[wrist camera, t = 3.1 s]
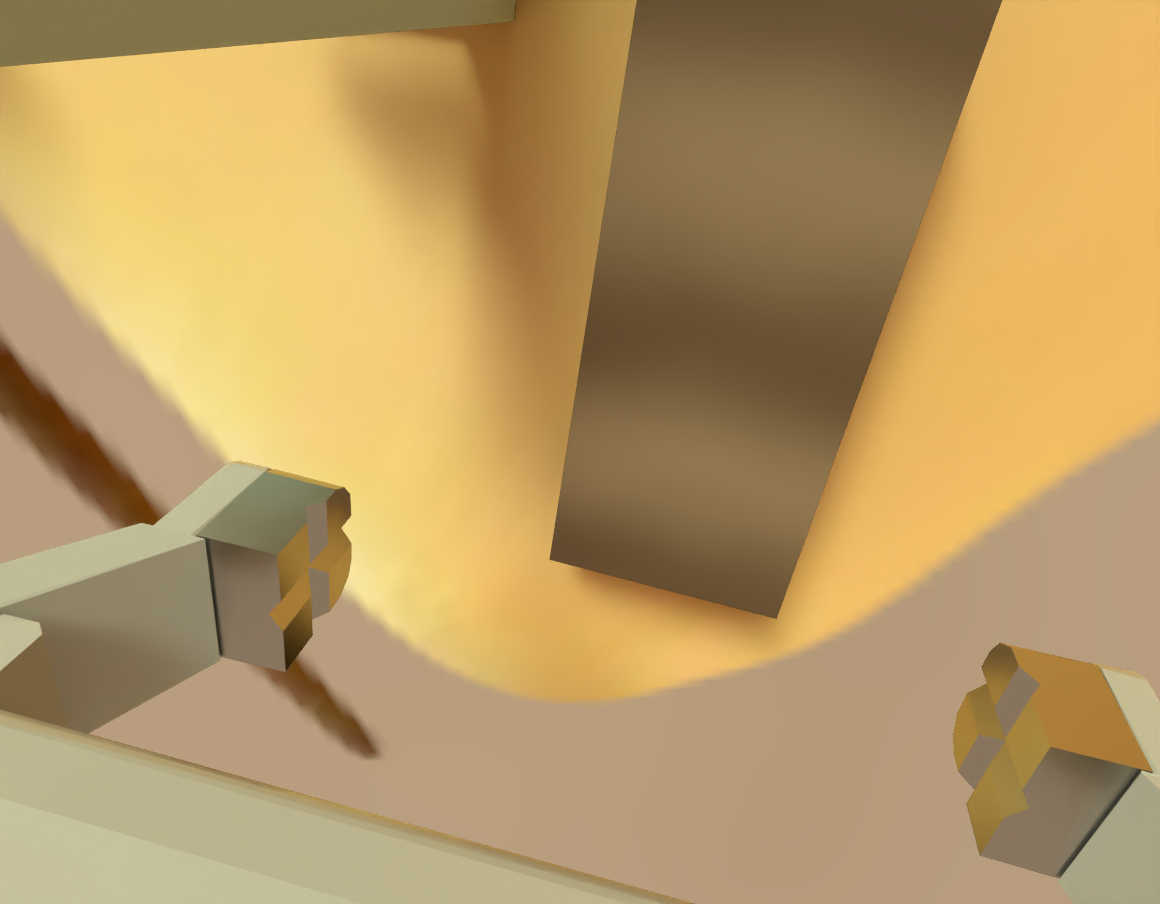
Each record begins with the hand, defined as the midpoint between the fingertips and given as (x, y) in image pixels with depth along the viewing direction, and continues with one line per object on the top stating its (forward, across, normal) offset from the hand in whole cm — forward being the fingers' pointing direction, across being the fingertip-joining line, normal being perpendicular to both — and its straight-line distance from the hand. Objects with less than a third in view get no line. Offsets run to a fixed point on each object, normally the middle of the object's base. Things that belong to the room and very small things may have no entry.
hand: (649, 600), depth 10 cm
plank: (+12, -1, 0) cm, 12 cm away
